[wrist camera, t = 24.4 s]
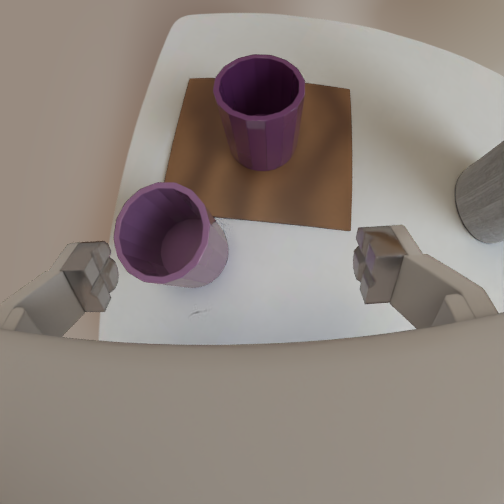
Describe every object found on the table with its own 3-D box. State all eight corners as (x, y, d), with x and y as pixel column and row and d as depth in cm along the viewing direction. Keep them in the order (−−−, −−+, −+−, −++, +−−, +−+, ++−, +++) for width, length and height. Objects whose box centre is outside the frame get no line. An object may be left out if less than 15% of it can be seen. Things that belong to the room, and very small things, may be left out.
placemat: (159, 213, 32) (158, 212, 32) (190, 80, 34) (189, 78, 34) (349, 231, 31) (350, 230, 30) (349, 91, 33) (349, 89, 33)
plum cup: (215, 139, 32) (195, 84, 23) (265, 103, 33) (262, 43, 23) (259, 184, 31) (253, 137, 22) (310, 144, 32) (323, 89, 22)
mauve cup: (145, 248, 32) (98, 227, 22) (198, 202, 32) (169, 163, 22) (187, 302, 31) (151, 304, 21) (243, 254, 31) (230, 235, 21)
